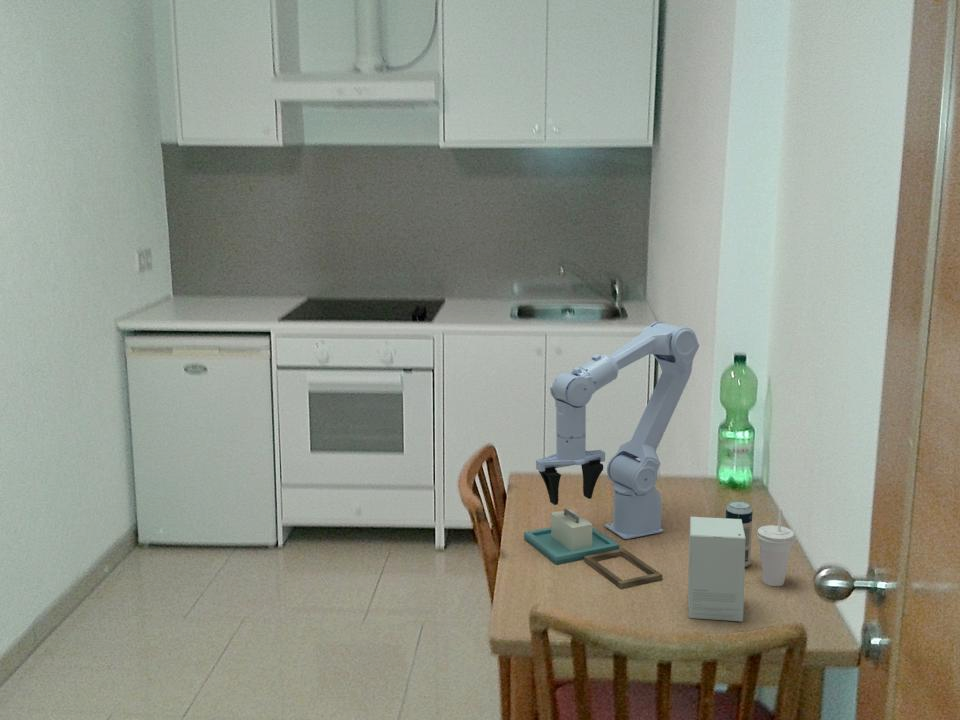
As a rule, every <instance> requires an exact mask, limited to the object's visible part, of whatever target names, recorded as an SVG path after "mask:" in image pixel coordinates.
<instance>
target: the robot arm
mask: <svg viewBox="0 0 960 720" xmlns="http://www.w3.org/2000/svg"><path fill="white" fill-rule="evenodd" d="M699 347H700V344H699V341H698V338H697V335H696V333H695V331H694V330H693V329H692V328H691V327H689V326H688V327H686V326H680V325H679V326H678V325H674V324H669V323H665V322H663V321H654V322H652V323H651V324H650V325H648V326H645V327H643V329H642V331H641V333H640V334H638V335H637V336H635V337H634V338H633V339H631V340H629V341H628V342H627V343H625V344H624V345H623V346H621V347H619V348H618V349H616V351H613V353H611V354H609V355H607V354H604V353H601V354H596V353H595V354H594V355H591V359H590V360H589V361H587V362H585V363H583V364H582V365H580V366H579V367H578V366H575V367H574V368H573V369H572V371H571V372H563V373H560V374H559V375H557V376H556V378H555V379H554V380H553V382H552V386H551V387H550V388H549V391H550V394H551V396H552V398H553V400H554V401H555V402H554V404H555V409H556V410H555V411H556V415H555V419H556V422H555V424H556V434H555V435H556V440H555V442H556V449H555V451H556V454H555V453H554V454H552V455H549V456H546V457H542V458H538V459H536V460H535V470H537V471H538V473H539V474H540V475H541V478H542V479H543V482H544V484H545V487H546V491H547V494H548V498H549V503H551V504H553V505H554V506H557V505H558V504H559V489H560V482H561V477H562V474H561V473H559V472H558V470H557V469H558V468H563V467H570V466H581V471H582V494H583V497H585V498H586V499H588V500H590V499H592V498H593V494H594V490H595V486H596V484H597V481H598V479H599V477H600V475H601V474H602V472H603V471H604V464H603V463H604V462H606V451H603V450H602V449H595V450H594V449H593V450H586V445H587V444H586V443H587V442H586V441H587V440H586V439H587V437H586V432H587V431H586V430H587V429H586V428H587V426H586V424H587V422H586V421H587V418H586V416H587V413H586V411H587V405H588V403H589V402H590V401H591V399H592V396H593V395H594V394H595V393H596V392H597V391H599V390H600V389H602V388H603V387H605V386H607V385H608V384H610V383H612V382H613V381H615V380H616V379H617V378H618V374H619V371H621V370H622V369H624V368H626V367H627V366H629V365H632V364H633V363H635V362H637V361H639V360H641V359H643V358H645V357H646V356H648V355H652V356H653V357H654V358H655V360H656V361H657V362H658V364H659V366H660V369H661V374H660V376H659V379H658V380H657V382H656V385H655V387H654V389H653V391H652V393H651V396H650V397H649V400H648V402H647V405H646V407H645V409H644V411H643V413H642V415H641V418H640V419H639V422H638V424H637V427H636V428H635V429H634V430H635V431H634V433H633V435H632V437H631V439H630V440H629V441H627V442H625V443H623V444H621V445H620V446H619V448H618V449H617V452H616V453H615V454H614V455H612V457H611V458H610V459H609V461H608V462H607V466H606V474H607V477H608V479H609V480H611V481H612V485H611V486H612V487H613V520H612V522H610V523H606V524H605V525H604V527H605V528H606V529H608V530H609V531H611V532H613V534H615V535H617V536H619V537H621V539H623V540H630V539H633V538H639V537H645V536H649V535H653V534H659V533H664V529H663V528H662V508H663V507H662V506H663V505H662V503H663V502H662V497H661V494H660V492H659V490H658V489H657V488H656V487H655V486H656V484H657V480H658V471H659V468H660V466H661V461H660V459H659V456H658V454H657V449H658V447H659V445H660V443H661V441H662V439H663V436H664V434H665V432H666V430H667V428H668V425H669V424H670V421H671V419H672V417H673V414H674V413H675V410H676V408H677V405H678V403H679V401H680V399H681V397H682V395H683V393H684V390H685V388H686V386H687V384H688V381H689V379H690V378H691V374H692V369H693V361H694V358H695V357H696V355H697V351H698V350H699Z"/></svg>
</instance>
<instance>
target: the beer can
mask: <svg viewBox="0 0 960 720" xmlns="http://www.w3.org/2000/svg"><path fill="white" fill-rule="evenodd" d="M725 518H727V519H742V524H743V529H744V533H745V538H746V542H745V568H746V567H749V566H750V564H751V553H752V552H751V551H752V550H751V549H752V534H753V532H752V531H753V530H752V529H753V509H752V506H751V504H750V502H747V501H743V500H733V501H730V502H728V504H727V506H726V507H725Z"/></svg>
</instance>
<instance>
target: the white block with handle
mask: <svg viewBox="0 0 960 720" xmlns="http://www.w3.org/2000/svg"><path fill="white" fill-rule="evenodd" d="M550 527H551V536H552V537H553V538H554V539H556V540H557V541H558V542H560V543H561V544H562V545H564V546H565V547H566V548H568V549H569V550H570V551H577V550H582V549H587V548H592V527H593V524H592V523H591V522H590V521H588V520H587V519H585V518H584V517H583V516H581V515H579V514H578V513H576V512H575V511H573V510H572V509H568V508H563V510H559V511H555V512H550Z"/></svg>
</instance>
